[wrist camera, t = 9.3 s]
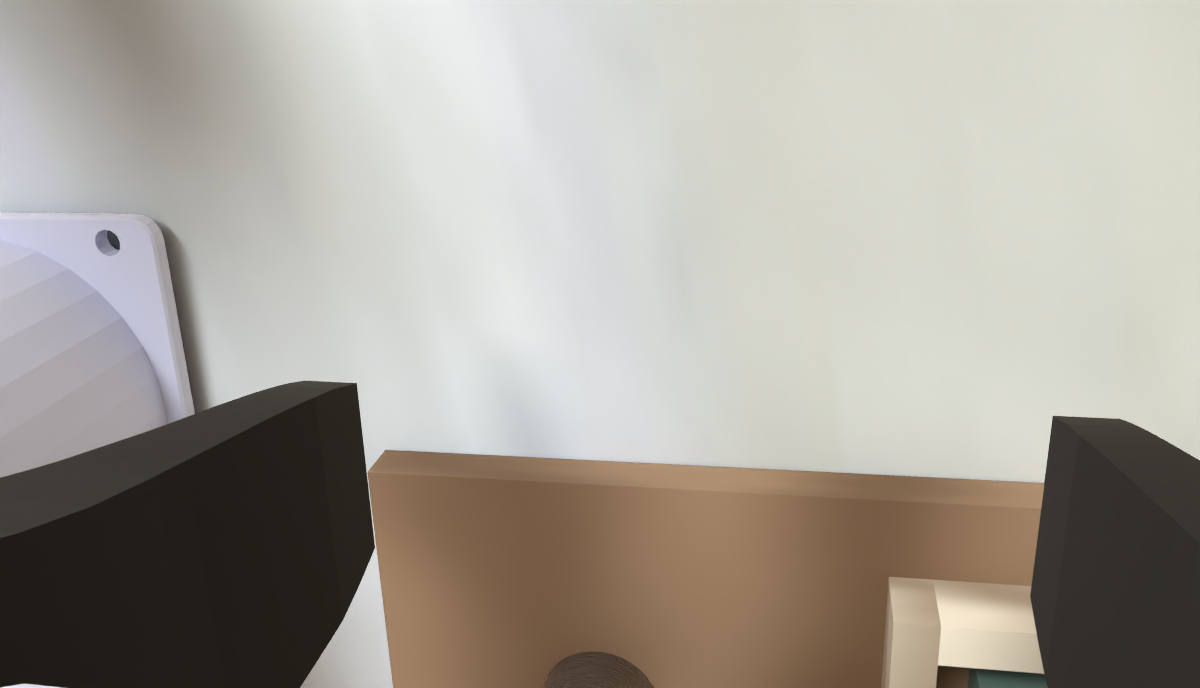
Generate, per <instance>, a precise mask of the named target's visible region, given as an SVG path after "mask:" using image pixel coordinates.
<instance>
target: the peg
mask: <svg viewBox="0 0 1200 688" xmlns="http://www.w3.org/2000/svg"><path fill="white" fill-rule="evenodd" d="M968 688H1048V686H1047V683H1046V680H1045V675H1044V674H1041V673H1028V672H1016V671H1003V670H990V669H978V668H969V679H968Z"/></svg>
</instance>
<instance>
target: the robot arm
mask: <svg viewBox="0 0 1200 688" xmlns="http://www.w3.org/2000/svg"><path fill="white" fill-rule="evenodd" d="M107 231H112V232H113V233H114V234H115V235H116V236H117V237H118V239H119V242H120V250H118V249H115V248H114V247H113V246H112V245H110V243H109V241H108V239H107ZM374 549H375V545H374V536H373V527H372V518H371V509H370V500H369V491H368V482H367V473H366V464H365V455H364V446H363V437H362V428H361V419H360V410H359V401H358V392H357V383H339V382H318V381H301V382H294V383H288V384H284V385H280V386H276V387H273V388H269V389H266V390H262V391H259V392H256V393H253V394H250V395H247V396H244V397H241V398H238V399H235V400H232V401H230V402H227V403H224V404H221V405H218V406H216V407H213V408H210V409H207V410H204V411H202V412H199V413H196V414H195V411H194V406H193V400H192V394H191V389H190V383H189V377H188V372H187V366H186V360H185V355H184V349H183V343H182V338H181V332H180V326H179V321H178V315H177V309H176V304H175V298H174V292H173V287H172V281H171V275H170V270H169V264H168V258H167V253H166V247H165V241H164V237H163V235H162V232H161V229H160V228H159V227H158V226H157V224H156V223H155V222H154V221H153V220H151V219H150V218H148V217H147V216H144V215H140V214H110V213H23V212H0V688H300V687H301V685H302V684H303V682H304V680H305V679H306V677H307V676H308V674H309V673H310V671H311V670H312V668H313V667H314V665H315V663H316V662H317V660H318V659H319V657H320V656H321V654H322V652H323V651H324V649H325V648H326V646H327V645H328V643H329V642H330V640H331V638H332V637H333V635H334V634H335V632H336V630H337V629H338V627H339V625H340V624H341V622H342V621H343V619H344V617H345V614H346V612H347V610H348V608H349V606H350V604H351V602H352V599H353V597H354V595H355V593H356V591H357V589H358V587H359V584H360V582H361V579H362V577H363V575H364V572H365V570H366V568H367V565H368V563H369V560H370V558H371V556H372V553H373V551H374ZM1030 598H1031V604H1032V610H1033V616H1034V621H1035V627H1036V633H1037V639H1038V644H1039V649H1040V654H1041V659H1042V665H1043V670H1044V675H1045V680H1046V683H1047V686H1048V688H1200V460H1198V459H1196V458H1194V457H1193V456H1191V455H1189V454H1187V453H1186V452H1184V451H1182V450H1181V449H1179V448H1177V447H1175V446H1174V445H1172V444H1170V443H1168V442H1167V441H1165V440H1163V439H1161V438H1159V437H1158V436H1156V435H1154V434H1152V433H1150V432H1148V431H1146V430H1144V429H1142V428H1140V427H1138V426H1136V425H1134V424H1132V423H1129V422H1126V421H1124V420H1121V419H1107V418H1086V417H1064V416H1053V420H1052V428H1051V436H1050V444H1049V451H1048V459H1047V467H1046V475H1045V483H1044V491H1043V499H1042V507H1041V514H1040V522H1039V530H1038V538H1037V546H1036V554H1035V562H1034V569H1033V577H1032V585H1031V593H1030Z"/></svg>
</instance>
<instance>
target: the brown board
mask: <svg viewBox="0 0 1200 688" xmlns="http://www.w3.org/2000/svg"><path fill="white" fill-rule="evenodd" d="M368 480H369V488H370V497H371V505H372V513H373V522H374V530H375V538H376V547H377V555H378V563H379V572H380V580H381V588H382V597H383V605H384V614H385V622H386V630H387V639H388V647H389V655H390V664H391V672H392V680H393V688H543V686H544V683H545V680H546V677H547V676H548V674H549V672H550V671H551V669H552V668H553V667H554V666H555V665H556V664H557V663H558V662H560V661H561V660H563V659H564V658H566V657H568V656H570V655H573V654H576V653H581V652H590V651H593V652H604V653H609V654H613V655H616V656H619V657H621V658H623V659H625V660H627V661H629V662H630V663H632V664H633V665H635V666H636V667H637V668H639V669H640V670H641V671H642V672H643V673H644V674H645V675H646V677H647V678H648V679H649V681H650V682H651V684H652V686H653V688H968V679H969V668H978V669H990V670H1003V671H1016V672H1028V673H1041V674H1044V670H1043V665H1042V659H1041V654H1040V649H1039V644H1038V639H1037V633H1036V627H1035V621H1034V616H1033V610H1032V604H1031V598H1030V593H1031V585H1032V577H1033V569H1034V562H1035V554H1036V546H1037V538H1038V530H1039V522H1040V514H1041V507H1042V499H1043V491H1044V483H1029V482H1009V481H989V480H970V479H950V478H930V477H910V476H890V475H871V474H851V473H831V472H811V471H791V470H771V469H752V468H732V467H712V466H692V465H672V464H652V463H633V462H613V461H593V460H573V459H553V458H533V457H514V456H494V455H474V454H454V453H434V452H414V451H395V450H385V451H384V452H383V454H382V455H381V456H380V457H379V459H378V460H377V461H376V462H375V464H374V465H373V466H372V467H371V469H370V470H369V471H368Z"/></svg>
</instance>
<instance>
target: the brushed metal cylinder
mask: <svg viewBox="0 0 1200 688" xmlns="http://www.w3.org/2000/svg"><path fill="white" fill-rule="evenodd" d="M543 688H653V686H652V684H651V682H650V681H649V679H648V678H647V677H646V675H645V674H644V673H643V672H642V671H641V670H640V669H639V668H637V667H636V666H635V665H633V664H632V663H630V662H629V661H627V660H625V659H623V658H621V657H619V656H616V655H613V654H609V653H604V652H593V651H590V652H581V653H576V654H573V655H570V656H568V657H566V658H564V659H563V660H561V661H560V662H558V663H557V664H556V665H555V666H554V667H553V668H552V669H551V671H550V672H549V674H548V676H547V677H546V680H545V683H544V686H543Z"/></svg>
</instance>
